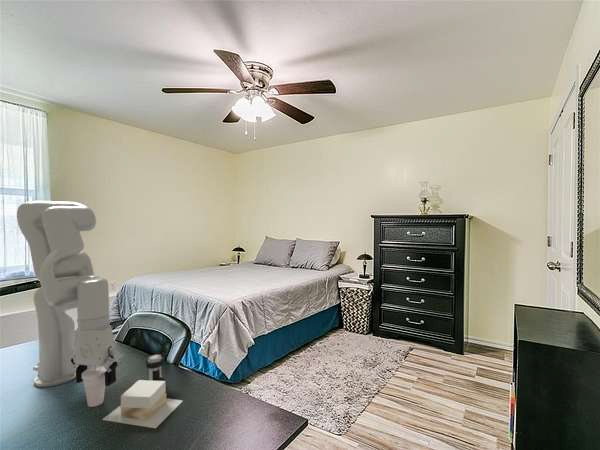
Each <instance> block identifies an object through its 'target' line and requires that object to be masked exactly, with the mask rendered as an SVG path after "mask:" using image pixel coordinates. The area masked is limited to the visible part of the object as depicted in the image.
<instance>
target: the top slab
mask: <svg viewBox="0 0 600 450" xmlns="http://www.w3.org/2000/svg"><path fill="white" fill-rule="evenodd" d="M166 387H167V386H166V380H165V381H150V380H149V379H148V380H146V379H145V380H144V379H138V380H137V381H136V382H135V383H134V384H132V386H131V387H128V389H127V390H126V391H124V392H123V394H121V395H120V405H121V407H128V408H151V407H152V406H153V405H154V404H155V403H156V402H157V400H158V399H159V398H160V397H161V396H162V395H163V394H164V393H165V392H166V391H167V390H166V389H167V388H166Z"/></svg>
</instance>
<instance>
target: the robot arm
mask: <svg viewBox="0 0 600 450" xmlns="http://www.w3.org/2000/svg"><path fill="white" fill-rule="evenodd" d="M16 221H17V225H18V228H19V229H20V232H21V233H22V236H23V237H24V238H25V240H26V242H27V244H28V246H29V251H30V257H31V262H32V268H33V272H34V275H35V276H36V279H37V280H39V282H40V284H39V285H40V287H39V288H37V289H35V291H34V294H33V303H34V307H35V308H34V309H35V312H36V317H37V326H38V327H37V328H38V329H37V331H38V357H39V358H38V359H39V362H38V363H37V364H36V365H35V366H33V369H32V370H33V371H35V372H36V371H37V375H36V376H35V377H34V379H33V385H34V386H36V387H39V388H42V387H43V388H47V387H54V386H59V385H62V384H65V383H68V382H70V381H72V380H74V379H75V382H76V384H80V383H82V382H84V381H83V379H82V373H83V372H84V371H85V370H87V369H88V367H93V366H104V368H105V369H106V371H107V372H105V387H109V386H111V385H112V384H114V383H115V382H116V381H117V373H116V372H117V371H116V369H117V368H118V366H119V365H120V364H121V361H122V359H123V357H124V354H123V353H121V352H120V351H119V350H117V349H115V347H116V346H115V339H114V338H115V337H114V333H113V328H112V325H110V324H111V323H110V299H109V298H110V296H109V295H110V294H109V292H110V291H109V282H108V280H107V278H104V277H100V276H99V275H96V274H95V271H94V268H93V264H92V260H91V258H90V256H89V254H88V253H87V252H86V251H83V250H84V247H85V244H84V240H83V237H82V235H81V232H87V231H88V232H90V231H92V230H93V229H94V228H95V227H96V224H97V219H96V214H95V212H94V211H93V210H92V209H91V208H90V207H89V206H87V205H84V204H81V203H79V202H75V201H56V200H55V201H53V200H33V201H26V202H23V203H21V204H19V206H18V207H17V210H16ZM72 309H77V312H76V313H77V320H76V322H77V328H75V327H76V326H75V325H76V323H75V321H74V319H73V318H72V317H71V316H70V315H68V314H67V313H66V312H67V311H69V310H72Z"/></svg>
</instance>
